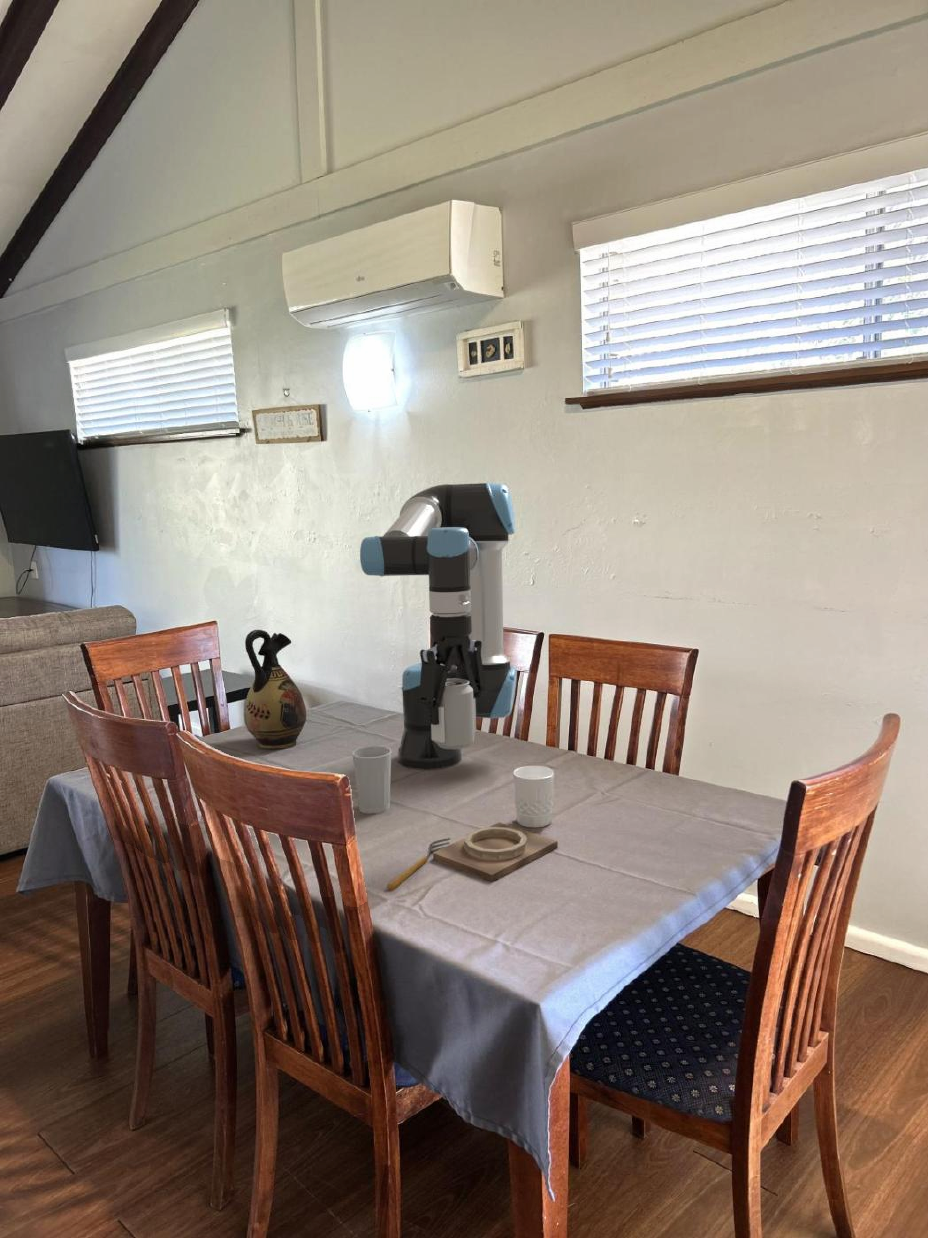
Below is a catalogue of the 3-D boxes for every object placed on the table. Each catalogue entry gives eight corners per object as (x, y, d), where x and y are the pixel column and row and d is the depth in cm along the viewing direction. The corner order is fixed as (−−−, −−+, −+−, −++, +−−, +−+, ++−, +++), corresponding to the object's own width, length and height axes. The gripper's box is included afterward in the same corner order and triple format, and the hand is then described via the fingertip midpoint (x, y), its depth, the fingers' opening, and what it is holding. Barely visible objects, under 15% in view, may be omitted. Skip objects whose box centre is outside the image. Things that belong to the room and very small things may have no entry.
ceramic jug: (287, 731, 246) (279, 621, 241) (319, 743, 235) (312, 627, 230) (229, 746, 235) (220, 630, 230) (260, 759, 224) (252, 637, 219)
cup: (387, 816, 185) (385, 758, 183) (349, 814, 187) (346, 757, 185) (398, 801, 193) (396, 746, 191) (361, 800, 195) (359, 745, 193)
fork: (395, 885, 152) (451, 836, 170) (385, 880, 153) (442, 833, 170) (392, 898, 153) (448, 848, 170) (383, 893, 154) (440, 845, 171)
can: (481, 741, 172) (479, 678, 170) (463, 752, 166) (461, 687, 164) (445, 737, 175) (443, 675, 174) (426, 748, 169) (424, 683, 167)
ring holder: (499, 828, 177) (499, 814, 177) (557, 847, 168) (557, 833, 167) (433, 859, 164) (432, 844, 164) (492, 881, 155) (491, 866, 155)
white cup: (558, 815, 183) (558, 767, 181) (549, 831, 175) (548, 780, 174) (520, 812, 185) (519, 764, 184) (509, 826, 178) (508, 777, 176)
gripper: (423, 622, 157) (428, 752, 160) (503, 608, 171) (506, 727, 175) (394, 618, 162) (399, 744, 166) (474, 605, 176) (477, 721, 180)
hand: (454, 735), depth 170 cm, fingers closed on can, 7 cm apart
